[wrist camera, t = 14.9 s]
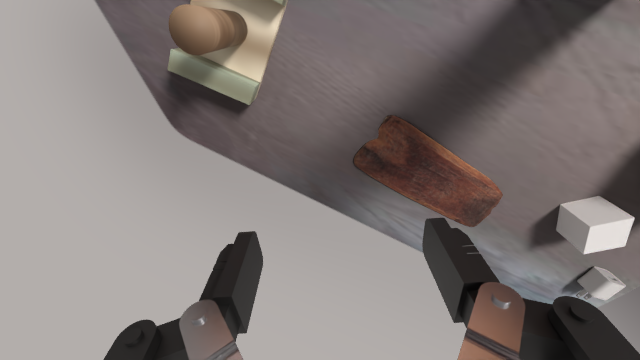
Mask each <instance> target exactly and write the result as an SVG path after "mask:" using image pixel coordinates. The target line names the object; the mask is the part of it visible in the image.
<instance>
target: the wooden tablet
mask: <svg viewBox="0 0 640 360" xmlns="http://www.w3.org/2000/svg"><path fill="white" fill-rule="evenodd" d="M354 164H355V165H356V166H357V167H358V168H359V169H361V170H362V171H364V172H365V173H366V174H368V175H369V176H371V177H373V178H374V179H376V180H378V181H379V182H381V183H383V184H385V185H386V186H388V187H390V188H391V189H394V190H395V191H397V192H399V193H401V194H402V195H404V196H406V197H408V198H410V199H412V200H414V201H416V202H418V203H420V204H422V205H424V206H426V207H428V208H430V209H432V210H434V211H436V212H438V213H440V214H442V215H444V216H446V217H448V218H450V219H454V220H455V221H457V222H459V223H461V224H464V225H467V226H470V227H474V226H476V225H478V224H479V223H480V222H481V221H482V220H483V219H484V218H485V217H487V216H488V215H489V214H490V213H491V210H492V208H494V207H495V206H496V205H497V204H498V203H499V201H500V199H501V197H502V196H503V194H502V192H501V191H500V190H499V188H498V187H497V186H496V185H495V184H494V183H493V182H492V181H491V180H490V179H489V178H487V177H486V176H485V175H483V174H482V173H480V172H479V171H477V170H476V169H474V168H473V167H471V166H470V165H468V164H467V163H465V162H464V161H463V160H461V159H460V158H458V157H457V156H456V155H454V154H453V153H451V152H450V151H449V150H447V149H446V148H444V147H443V146H442V145H440V144H439V143H437V142H436V141H434V140H433V139H431V138H430V137H428V136H426V135H425V134H424V133H422V132H421V131H419V130H418V129H417V128H415V127H414V126H412V125H411V124H409V123H408V122H406V121H404V120H403V119H401V118H399V117H396V116H393V115H390V116H387V117H386V118H385V119H384V121H383V123H382V124H381V126H380V128H379V137H378V138H377V139H374V140H371V141H369V142H367V143H366V144H365V145H364V146H363V147H362V148H361V149H360V150H359V151H358V152H357V154H356V155H355V157H354Z"/></svg>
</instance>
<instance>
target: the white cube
mask: <svg viewBox="0 0 640 360" xmlns="http://www.w3.org/2000/svg"><path fill="white" fill-rule="evenodd" d="M633 221H634V217H633V216H631V215H630V214H628V213H626V212H625V211H623V210H621V209H620V208H618V207H617V206H615V205H613V204H612V203H610V202H609V201H607V200H605V199H604V198H602V197H600V196H596V197H591V198H587V199H582V200H578V201H573V202H569V203H564V204H560V209H559V215H558V221H557V227H556V231H558V232H559V233H560V234H561V235H562V236H563V237H564V238H566V239H567V240H568V241H569V242H570V243H571V244H572V245H574V246H575V247H576V248H577V249H578V250H579V251H580V252H582V253H583V254H587V253H593V252H598V251H603V250H608V249H613V248H618V247H623V246H625V244H626V242H627V239H628V236H629V233H630V230H631V227H632V224H633Z"/></svg>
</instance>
